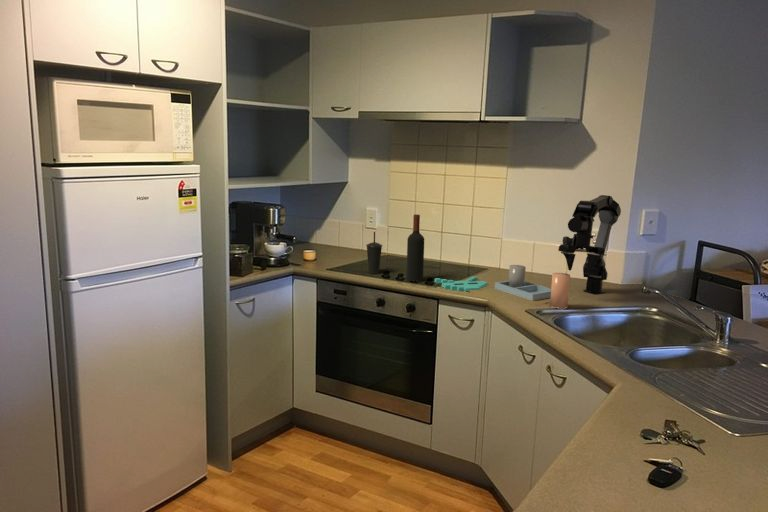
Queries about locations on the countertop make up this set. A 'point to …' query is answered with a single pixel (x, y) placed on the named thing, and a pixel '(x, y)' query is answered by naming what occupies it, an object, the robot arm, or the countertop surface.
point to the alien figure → (462, 284)
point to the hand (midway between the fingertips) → (579, 270)
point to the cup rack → (525, 290)
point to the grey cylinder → (516, 276)
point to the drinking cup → (374, 256)
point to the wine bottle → (415, 253)
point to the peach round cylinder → (560, 290)
